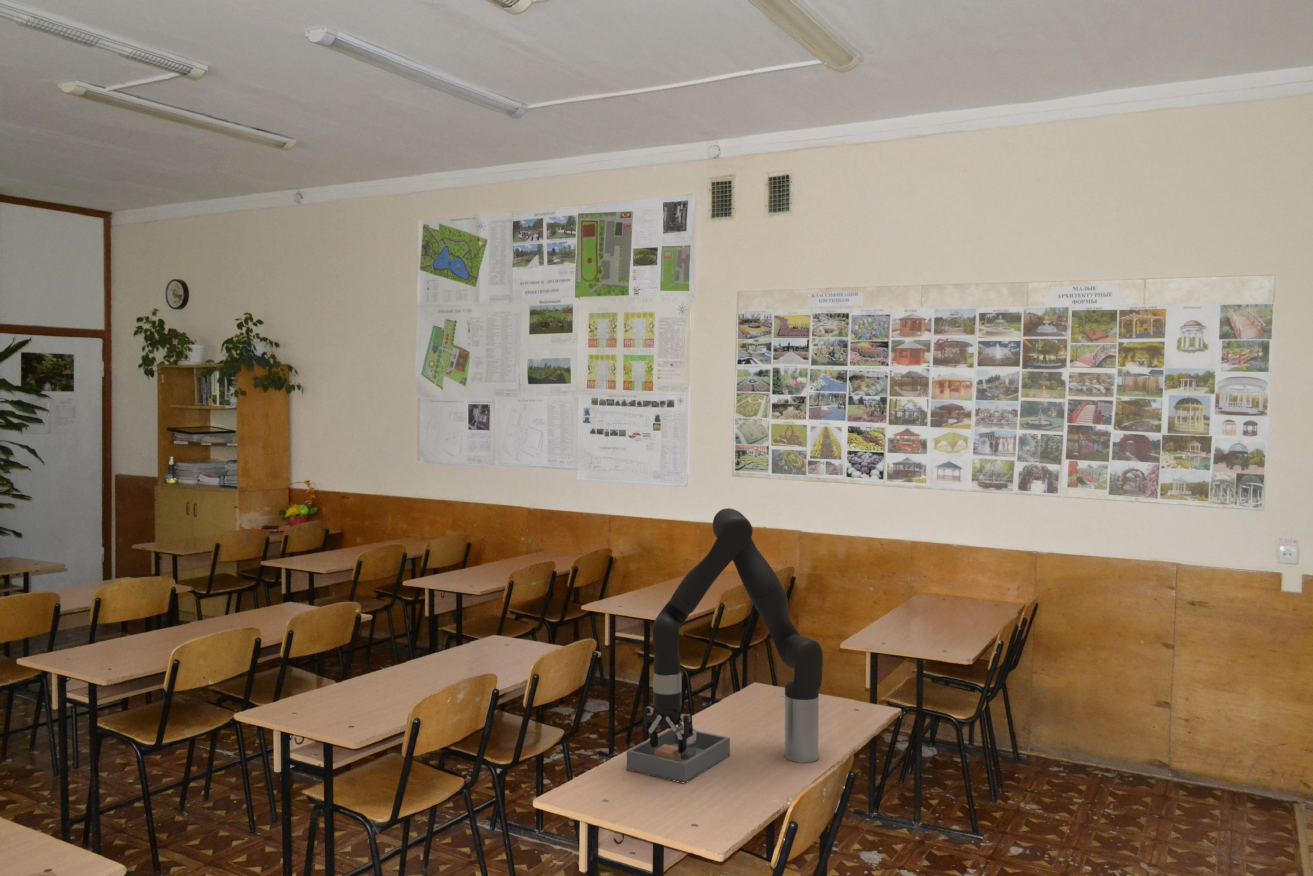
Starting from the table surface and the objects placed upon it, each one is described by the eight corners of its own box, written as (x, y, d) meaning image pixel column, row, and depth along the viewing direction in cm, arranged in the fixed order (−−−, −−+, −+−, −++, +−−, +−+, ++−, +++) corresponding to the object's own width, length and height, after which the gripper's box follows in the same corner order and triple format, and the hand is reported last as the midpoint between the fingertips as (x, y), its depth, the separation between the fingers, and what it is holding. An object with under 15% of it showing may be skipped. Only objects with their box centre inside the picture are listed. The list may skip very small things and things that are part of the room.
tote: (674, 743, 271) (674, 726, 271) (729, 755, 261) (729, 737, 261) (626, 769, 251) (626, 751, 251) (684, 784, 241) (684, 764, 241)
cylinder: (684, 751, 263) (684, 726, 263) (699, 755, 260) (699, 729, 260) (674, 757, 259) (674, 731, 258) (690, 760, 256) (690, 735, 256)
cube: (664, 762, 254) (664, 744, 254) (680, 766, 252) (680, 747, 252) (654, 768, 250) (654, 749, 250) (670, 772, 247) (670, 753, 247)
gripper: (697, 689, 250) (698, 750, 251) (652, 681, 258) (653, 740, 258) (682, 696, 244) (683, 759, 244) (637, 688, 252) (637, 748, 252)
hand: (667, 749), depth 251 cm, fingers open, 8 cm apart
